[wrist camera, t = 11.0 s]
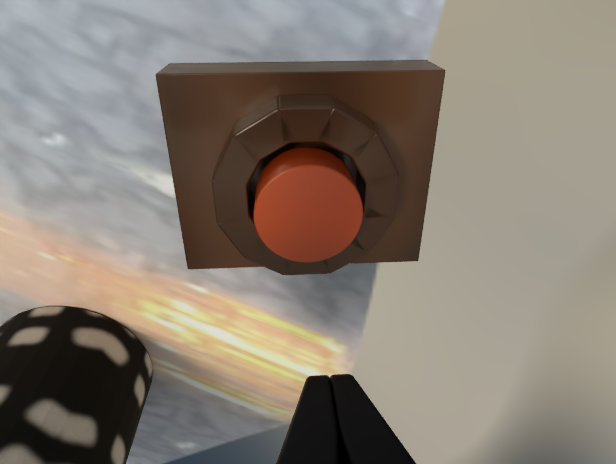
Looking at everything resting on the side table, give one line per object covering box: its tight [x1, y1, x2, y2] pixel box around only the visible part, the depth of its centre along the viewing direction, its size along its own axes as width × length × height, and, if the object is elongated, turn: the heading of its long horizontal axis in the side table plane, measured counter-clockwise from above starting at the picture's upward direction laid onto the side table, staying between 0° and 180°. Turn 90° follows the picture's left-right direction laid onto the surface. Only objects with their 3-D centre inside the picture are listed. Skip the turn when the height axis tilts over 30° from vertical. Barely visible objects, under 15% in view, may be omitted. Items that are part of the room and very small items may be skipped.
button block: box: [156, 60, 445, 275], centre depth 17 cm, size 10×8×4 cm
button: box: [254, 147, 363, 262], centre depth 15 cm, size 4×4×2 cm
